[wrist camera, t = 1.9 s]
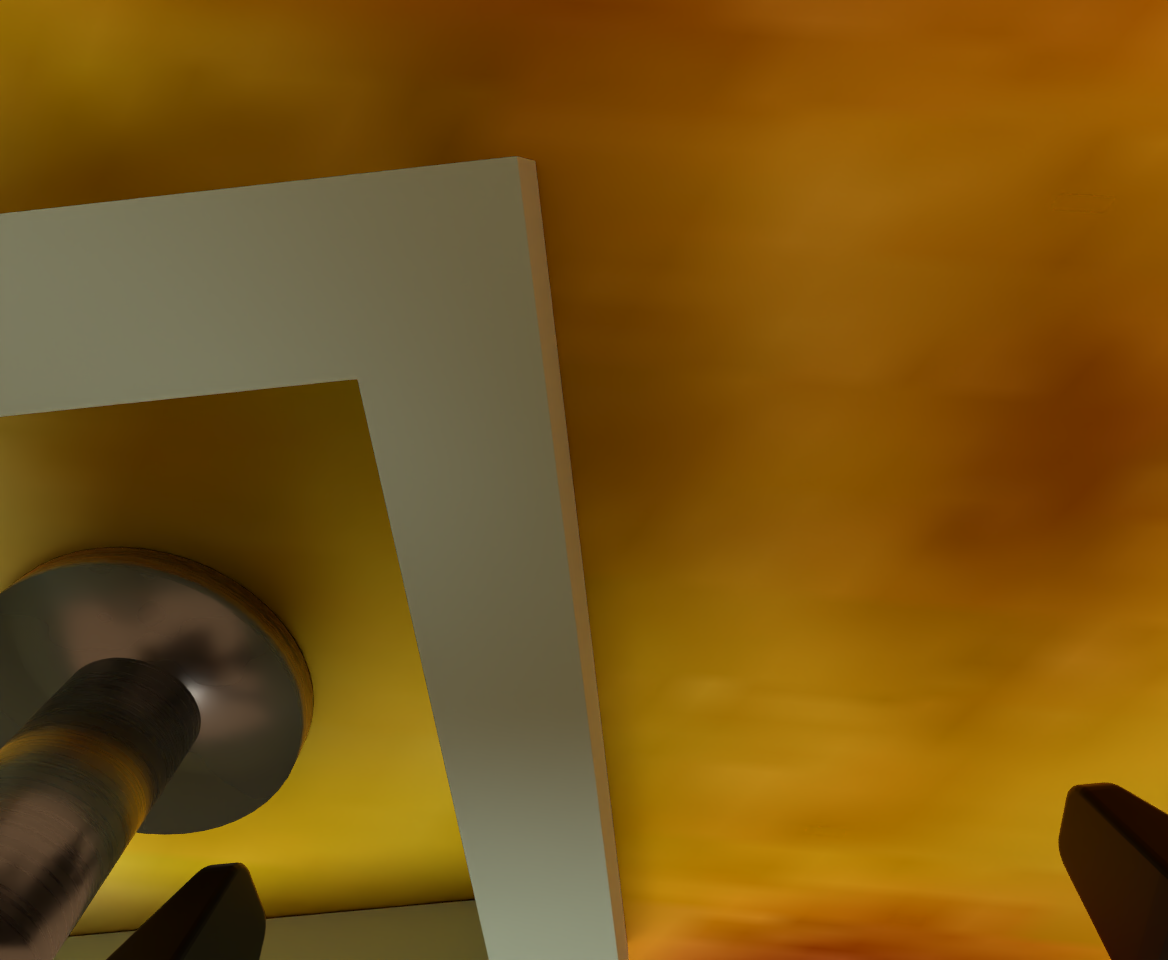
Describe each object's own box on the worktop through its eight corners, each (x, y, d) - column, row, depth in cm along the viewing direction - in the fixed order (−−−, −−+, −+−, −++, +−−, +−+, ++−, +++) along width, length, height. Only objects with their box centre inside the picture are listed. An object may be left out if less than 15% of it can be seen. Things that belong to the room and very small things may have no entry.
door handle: (267, 530, 11) (23, 821, 6) (344, 790, 13) (209, 1168, 8) (-69, 564, 11) (-573, 876, 6) (58, 818, 13) (-247, 1207, 8)
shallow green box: (535, 161, 9) (517, 155, 6) (627, 945, 14) (644, 1170, 11) (-582, 284, 9) (-1198, 346, 6) (-80, 1007, 15) (-263, 1245, 11)
